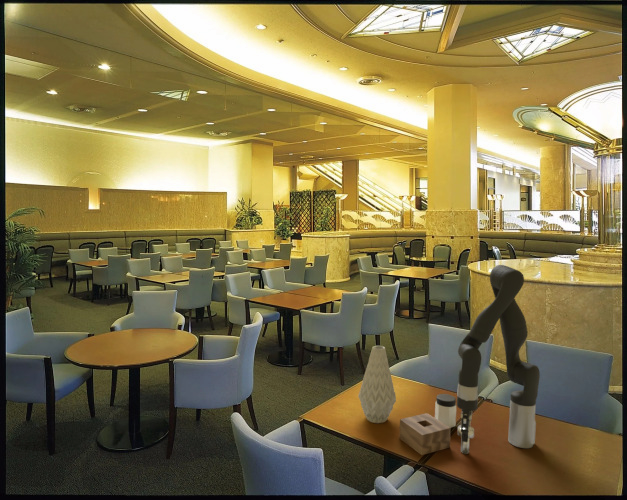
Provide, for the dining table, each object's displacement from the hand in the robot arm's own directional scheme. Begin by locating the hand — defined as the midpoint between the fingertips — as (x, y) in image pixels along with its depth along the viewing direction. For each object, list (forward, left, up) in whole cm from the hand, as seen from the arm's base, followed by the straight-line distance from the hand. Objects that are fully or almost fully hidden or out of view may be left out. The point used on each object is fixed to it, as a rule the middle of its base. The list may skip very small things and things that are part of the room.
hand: (465, 437), depth 171 cm
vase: (+16, -37, -6) cm, 41 cm away
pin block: (+10, -12, -6) cm, 17 cm away
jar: (-9, -21, -6) cm, 24 cm away
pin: (0, 0, -6) cm, 6 cm away
